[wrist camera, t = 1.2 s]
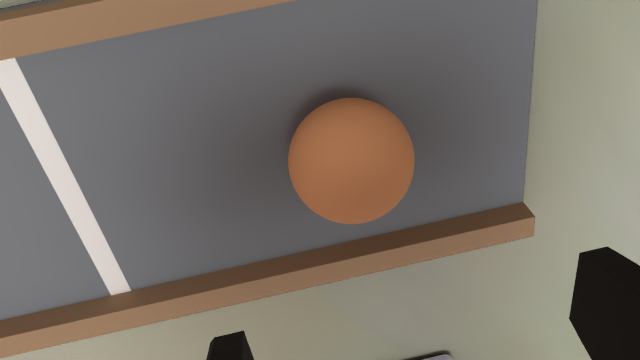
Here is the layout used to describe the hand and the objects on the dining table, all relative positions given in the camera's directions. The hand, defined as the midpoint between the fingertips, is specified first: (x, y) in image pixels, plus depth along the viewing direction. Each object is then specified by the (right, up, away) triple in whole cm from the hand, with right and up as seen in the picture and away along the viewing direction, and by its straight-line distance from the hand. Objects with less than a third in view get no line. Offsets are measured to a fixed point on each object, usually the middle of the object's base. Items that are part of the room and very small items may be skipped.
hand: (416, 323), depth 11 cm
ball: (-1, +4, +6) cm, 7 cm away
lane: (-8, +4, +7) cm, 12 cm away
